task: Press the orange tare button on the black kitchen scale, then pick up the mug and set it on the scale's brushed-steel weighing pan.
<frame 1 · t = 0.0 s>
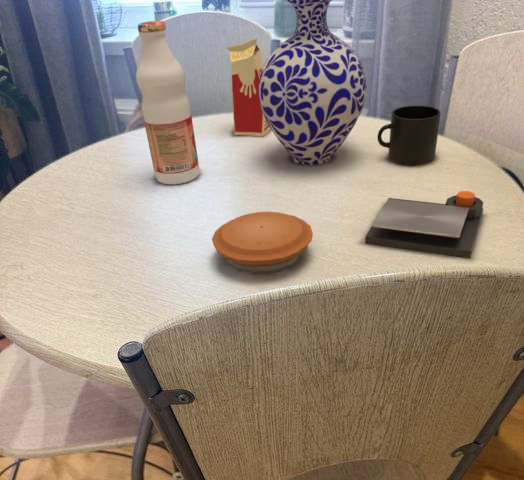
scale pan: (421, 217, 84), resting on scale
milk carton: (252, 130, 133), on the table
vase: (312, 158, 115), on the table
scale: (425, 228, 87), on the table
pie: (263, 256, 84), on the table
tare button: (465, 199, 87), point 3 cm above the table, slide at 0.1 cm
mug: (404, 158, 111), on the table
fruit juice: (178, 177, 112), on the table
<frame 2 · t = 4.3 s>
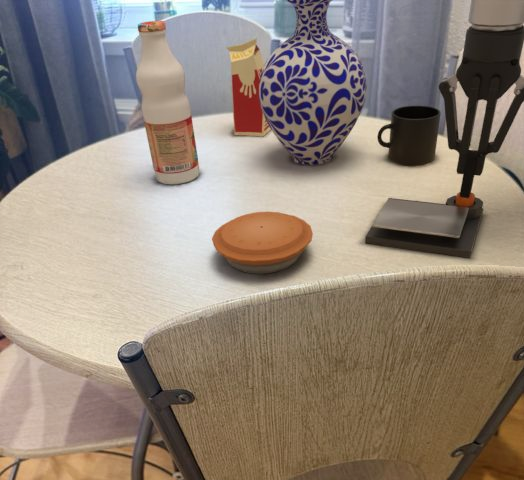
hand: (465, 193, 86), 5 cm above the table, tool pointing down, fingers closed
tare button: (464, 199, 87), point 3 cm above the table, slide at 0.0 cm, touching gripper
everything else where it was.
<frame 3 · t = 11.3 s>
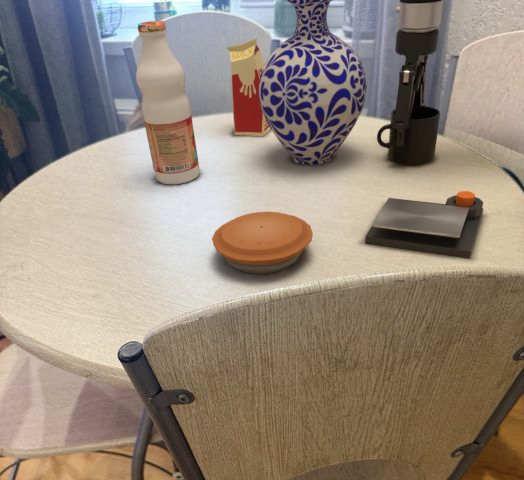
hand: (405, 151, 111), 1 cm above the table, tool pointing down, fingers closed on mug, 9 cm apart
tare button: (465, 199, 87), point 3 cm above the table, slide at 0.1 cm
mug: (404, 159, 111), on the table, touching gripper
everything else where it was.
when the fingers open (4 cm above the table, at t = 19.7 s): mug stays where it is, resting on scale pan.
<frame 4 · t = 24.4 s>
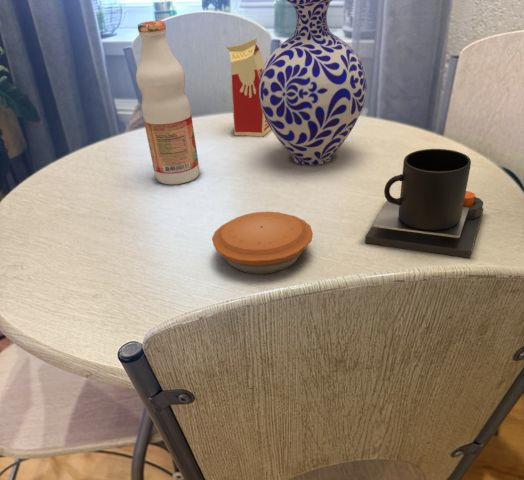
mug: (420, 218, 83), point 3 cm above the table, touching scale pan
everything else where it was.
at the end: tare button pushed in 1.0 cm at the most during the clip, back to where it started at the end; tare button slide at 0.1 cm; mug inside the target area on the scale (0.0 cm from its centre), point 3.1 cm above the scale's base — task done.
